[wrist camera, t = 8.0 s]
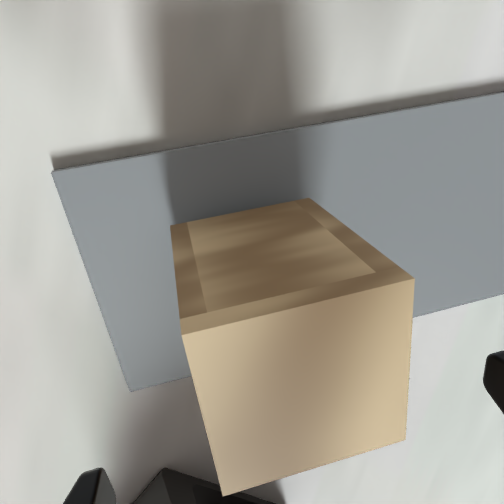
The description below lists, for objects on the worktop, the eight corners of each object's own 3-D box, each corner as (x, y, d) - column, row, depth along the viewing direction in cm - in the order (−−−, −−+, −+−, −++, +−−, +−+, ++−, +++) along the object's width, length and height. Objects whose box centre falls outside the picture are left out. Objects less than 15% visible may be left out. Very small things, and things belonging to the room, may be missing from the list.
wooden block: (309, 197, 14) (414, 278, 9) (317, 313, 17) (405, 440, 11) (169, 225, 14) (181, 335, 8) (197, 342, 16) (223, 496, 10)
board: (626, 70, 17) (636, 69, 17) (574, 270, 21) (581, 273, 21) (53, 169, 13) (50, 172, 13) (130, 385, 18) (129, 392, 17)
